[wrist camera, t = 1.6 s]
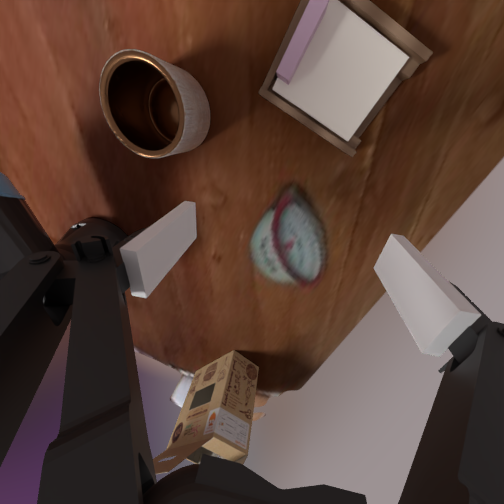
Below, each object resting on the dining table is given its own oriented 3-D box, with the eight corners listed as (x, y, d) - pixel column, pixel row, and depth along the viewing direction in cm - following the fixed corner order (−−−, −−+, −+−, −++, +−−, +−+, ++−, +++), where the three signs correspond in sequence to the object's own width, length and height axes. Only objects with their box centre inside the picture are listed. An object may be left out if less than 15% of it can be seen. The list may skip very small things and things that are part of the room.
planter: (131, 96, 33) (79, 87, 25) (183, 48, 29) (142, 19, 21) (174, 163, 37) (142, 174, 29) (225, 129, 33) (204, 131, 25)
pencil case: (261, 96, 30) (258, 93, 27) (314, -19, 24) (318, -42, 21) (346, 153, 32) (352, 157, 29) (414, 61, 26) (433, 52, 23)
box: (215, 336, 61) (161, 488, 36) (264, 370, 66) (248, 524, 41) (178, 360, 71) (116, 493, 45) (223, 388, 76) (190, 521, 50)
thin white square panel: (272, 90, 28) (270, 85, 24) (320, -9, 23) (325, -35, 19) (346, 141, 29) (354, 143, 26) (405, 59, 24) (426, 47, 21)
